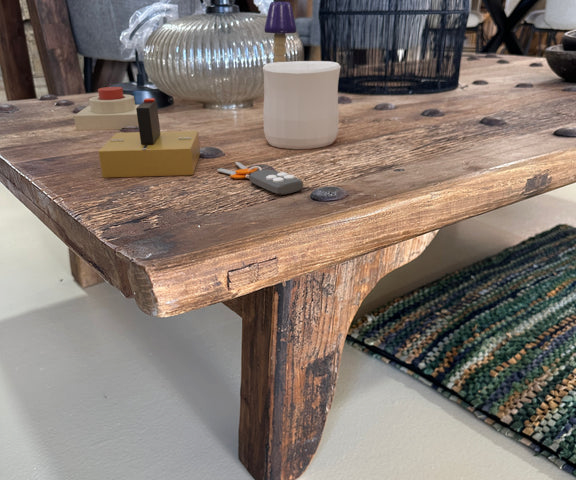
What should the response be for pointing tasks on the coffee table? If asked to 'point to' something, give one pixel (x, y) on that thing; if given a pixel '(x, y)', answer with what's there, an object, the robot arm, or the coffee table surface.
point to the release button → (110, 93)
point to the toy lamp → (280, 26)
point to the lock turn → (148, 121)
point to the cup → (301, 104)
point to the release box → (107, 114)
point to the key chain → (267, 179)
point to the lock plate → (150, 155)
